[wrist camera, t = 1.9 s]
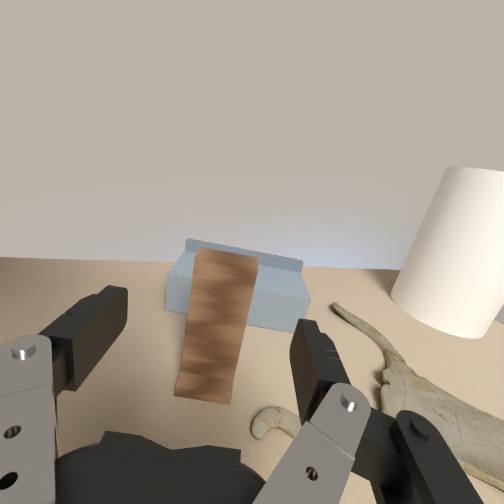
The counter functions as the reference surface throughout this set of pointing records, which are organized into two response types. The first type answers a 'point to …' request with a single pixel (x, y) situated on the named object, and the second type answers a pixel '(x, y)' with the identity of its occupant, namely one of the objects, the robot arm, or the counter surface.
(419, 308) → the cylinder
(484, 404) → the counter surface
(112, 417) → the counter surface
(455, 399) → the decorative wall piece
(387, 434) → the robot arm
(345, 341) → the counter surface
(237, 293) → the brown wooden block
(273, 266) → the display riser
